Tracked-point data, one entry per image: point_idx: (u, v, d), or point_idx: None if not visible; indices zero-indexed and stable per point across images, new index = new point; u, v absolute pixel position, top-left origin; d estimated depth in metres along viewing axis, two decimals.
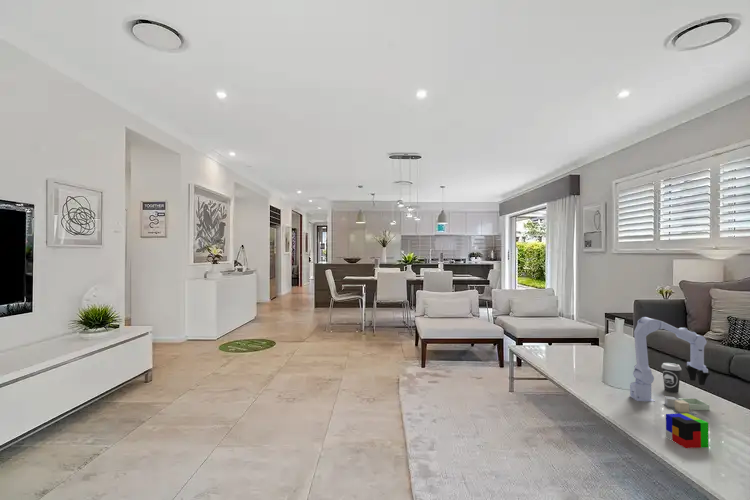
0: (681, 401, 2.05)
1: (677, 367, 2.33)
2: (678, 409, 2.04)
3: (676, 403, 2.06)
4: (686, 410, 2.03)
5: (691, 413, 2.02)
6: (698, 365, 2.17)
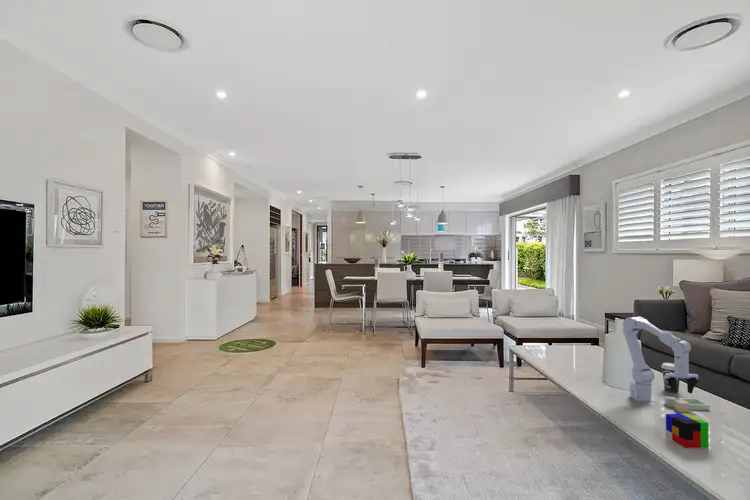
0: (681, 401, 2.05)
1: None
2: (678, 409, 2.04)
3: (676, 403, 2.06)
4: (686, 410, 2.03)
5: (691, 413, 2.02)
6: None
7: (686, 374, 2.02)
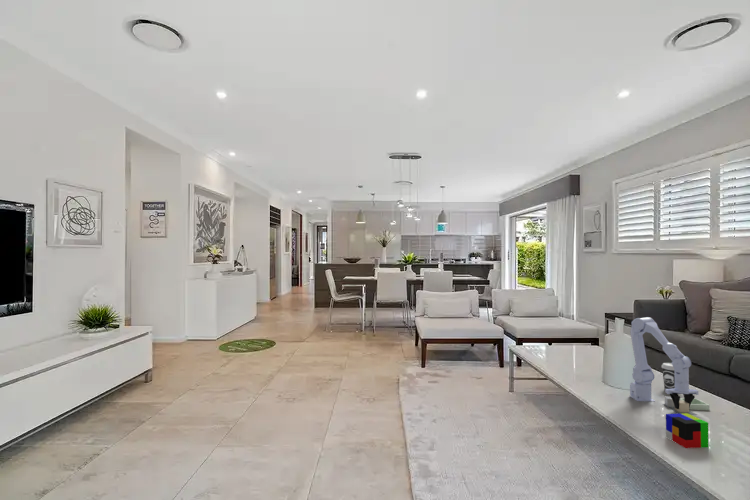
0: (681, 401, 2.05)
1: None
2: (678, 409, 2.04)
3: None
4: (686, 410, 2.03)
5: (691, 413, 2.02)
6: (674, 388, 2.06)
7: (686, 390, 2.02)
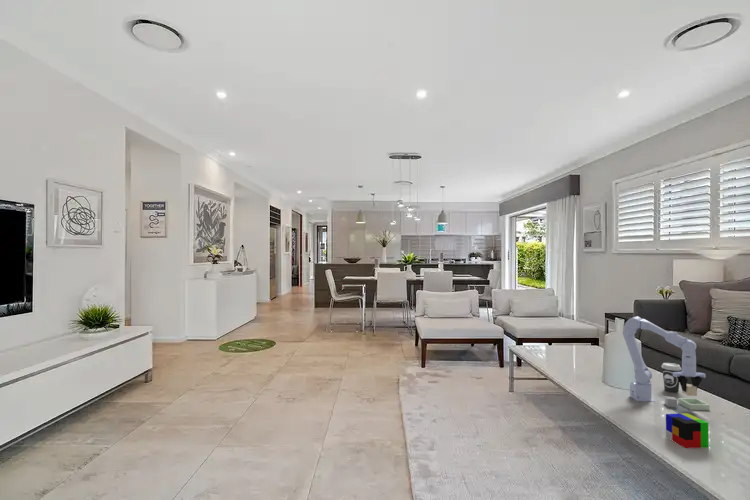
0: (689, 385, 2.09)
1: (677, 367, 2.33)
2: (686, 392, 2.08)
3: None
4: (694, 393, 2.06)
5: (691, 413, 2.02)
6: (682, 371, 2.10)
7: (693, 373, 2.06)
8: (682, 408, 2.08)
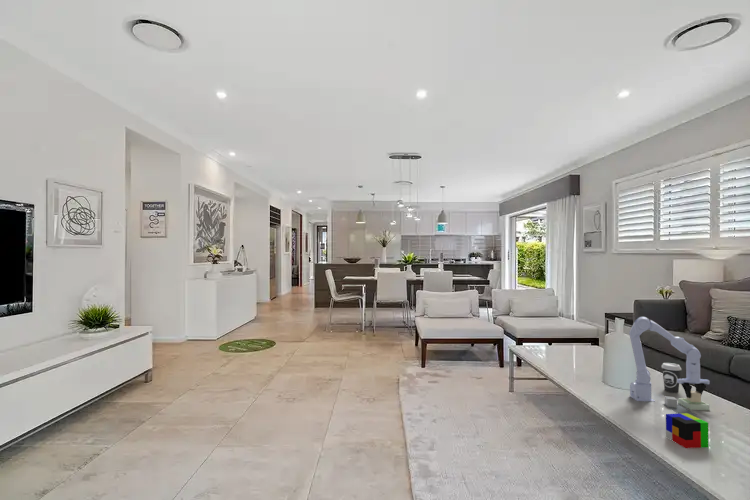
0: (693, 391, 2.11)
1: (677, 367, 2.33)
2: (690, 399, 2.10)
3: None
4: (698, 400, 2.09)
5: (691, 413, 2.02)
6: (686, 377, 2.12)
7: (698, 380, 2.08)
8: (682, 408, 2.08)
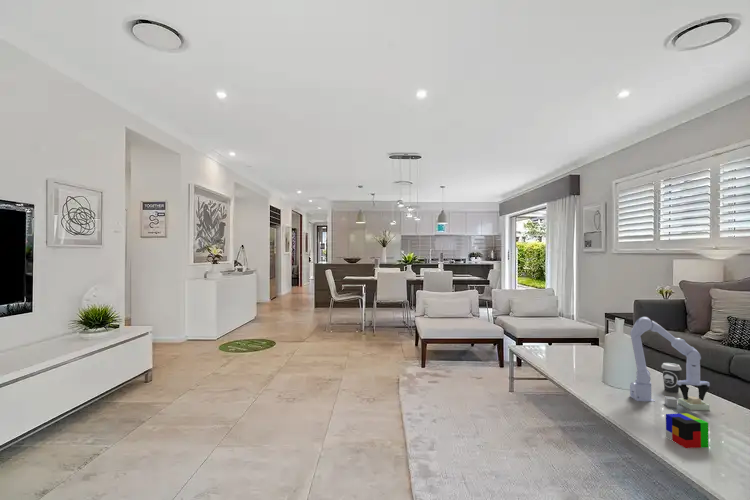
0: (693, 397, 2.11)
1: (677, 367, 2.33)
2: None
3: (688, 399, 2.12)
4: None
5: (691, 413, 2.02)
6: (686, 379, 2.12)
7: (698, 381, 2.08)
8: (682, 408, 2.08)
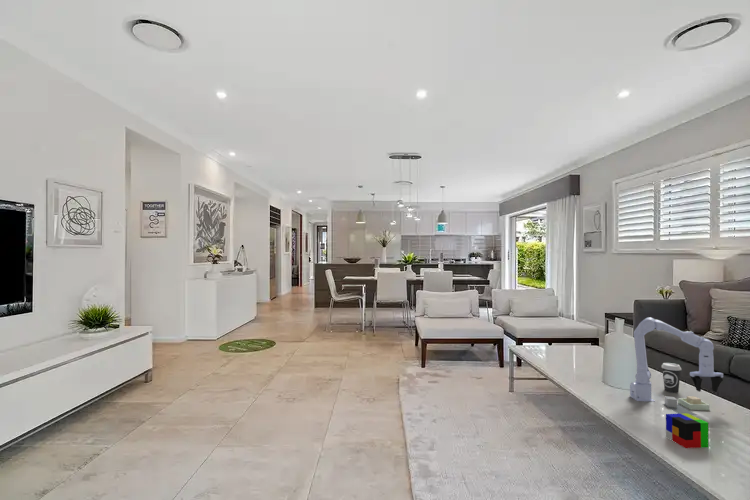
0: (693, 397, 2.11)
1: (677, 367, 2.33)
2: None
3: (688, 399, 2.12)
4: None
5: (691, 413, 2.02)
6: (699, 370, 2.07)
7: (711, 372, 2.03)
8: (682, 408, 2.08)
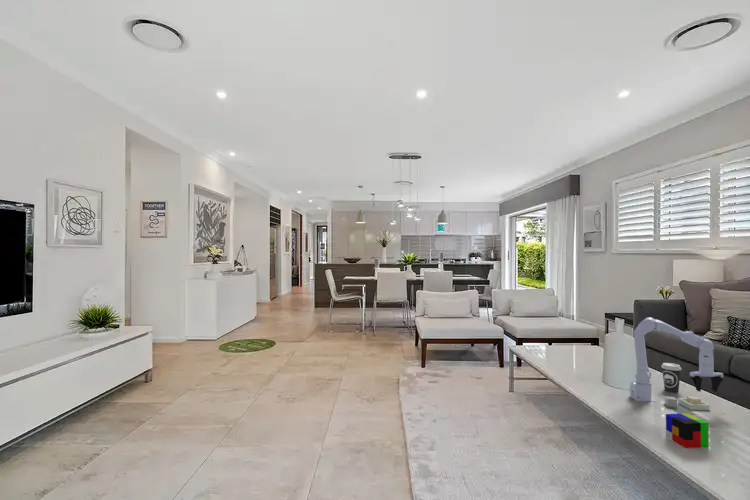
0: (693, 397, 2.11)
1: (677, 367, 2.33)
2: None
3: (688, 399, 2.12)
4: None
5: (691, 413, 2.02)
6: (699, 370, 2.07)
7: (711, 372, 2.03)
8: (682, 408, 2.08)
